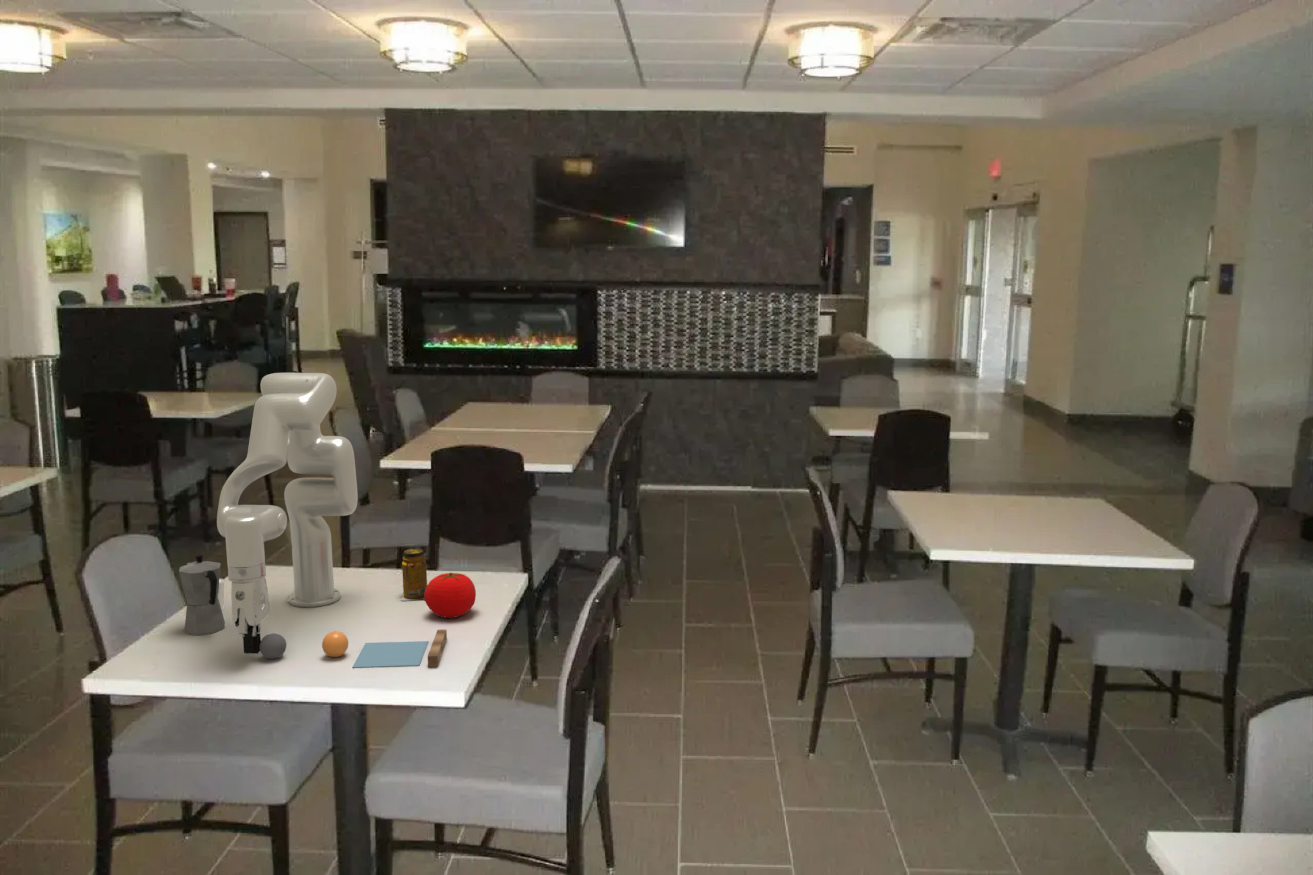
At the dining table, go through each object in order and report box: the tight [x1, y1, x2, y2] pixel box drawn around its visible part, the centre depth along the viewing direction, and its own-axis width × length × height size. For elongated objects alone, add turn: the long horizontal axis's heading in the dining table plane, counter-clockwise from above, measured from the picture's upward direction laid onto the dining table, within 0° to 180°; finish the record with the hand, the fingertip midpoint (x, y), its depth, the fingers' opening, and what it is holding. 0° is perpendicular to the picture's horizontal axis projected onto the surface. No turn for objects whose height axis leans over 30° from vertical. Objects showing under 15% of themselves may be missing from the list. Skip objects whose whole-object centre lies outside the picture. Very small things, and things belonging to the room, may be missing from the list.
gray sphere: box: [259, 632, 287, 660], centre depth 225 cm, size 6×6×6 cm
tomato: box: [423, 572, 477, 618], centre depth 252 cm, size 11×12×10 cm
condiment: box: [400, 548, 428, 602], centre depth 266 cm, size 7×8×12 cm
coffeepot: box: [178, 554, 226, 636], centre depth 241 cm, size 15×9×18 cm, turn 43°
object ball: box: [321, 630, 349, 658], centre depth 226 cm, size 6×6×6 cm
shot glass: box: [218, 578, 225, 610], centre depth 257 cm, size 7×7×7 cm
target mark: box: [352, 640, 429, 669], centre depth 227 cm, size 14×14×1 cm
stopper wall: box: [427, 629, 448, 668], centre depth 228 cm, size 16×2×2 cm, turn 4°
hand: (252, 652), depth 225 cm, fingers closed
